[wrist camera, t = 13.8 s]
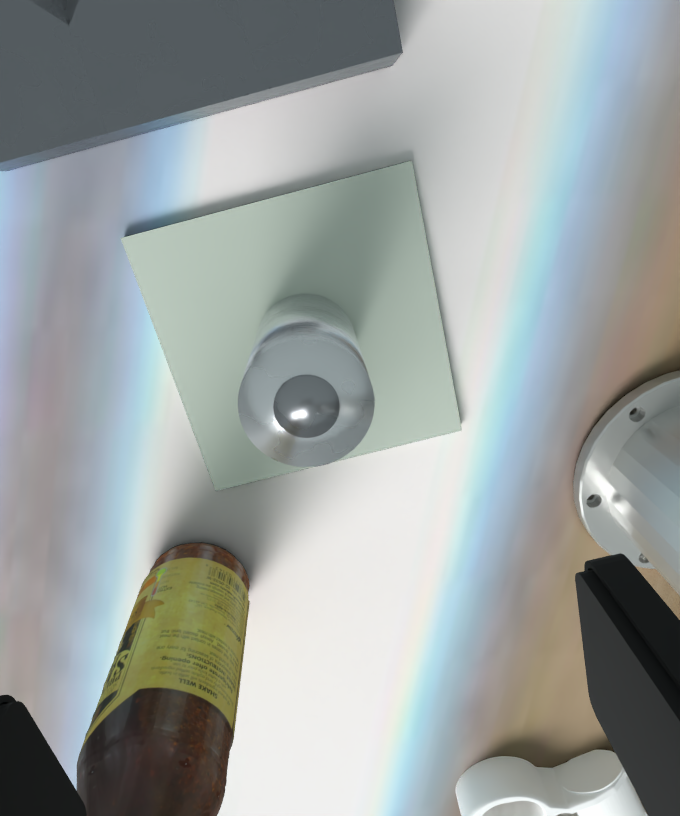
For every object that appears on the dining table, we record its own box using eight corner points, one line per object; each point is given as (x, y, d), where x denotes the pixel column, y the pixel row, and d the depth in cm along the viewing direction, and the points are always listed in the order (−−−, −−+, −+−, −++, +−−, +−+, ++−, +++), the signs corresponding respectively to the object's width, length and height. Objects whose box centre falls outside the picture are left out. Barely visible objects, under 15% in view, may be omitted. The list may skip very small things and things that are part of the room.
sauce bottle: (142, 537, 34) (-50, 961, 16) (250, 535, 35) (187, 948, 16) (153, 627, 37) (-2, 1086, 18) (254, 624, 37) (204, 1072, 18)
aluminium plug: (341, 281, 29) (356, 324, 20) (365, 375, 31) (388, 450, 22) (243, 308, 29) (217, 361, 21) (273, 399, 31) (261, 483, 22)
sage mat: (410, 160, 28) (411, 160, 27) (459, 426, 33) (461, 430, 32) (123, 237, 28) (120, 238, 28) (217, 486, 33) (215, 491, 33)
